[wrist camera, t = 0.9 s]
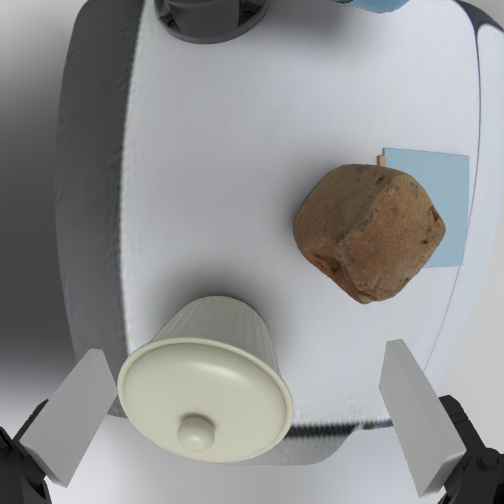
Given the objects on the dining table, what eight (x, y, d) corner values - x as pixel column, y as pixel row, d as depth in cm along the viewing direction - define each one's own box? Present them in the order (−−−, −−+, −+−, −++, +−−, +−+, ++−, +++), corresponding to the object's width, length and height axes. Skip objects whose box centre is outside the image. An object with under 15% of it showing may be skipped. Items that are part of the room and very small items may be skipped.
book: (377, 148, 36) (379, 147, 35) (466, 156, 35) (470, 156, 34) (374, 268, 40) (376, 271, 39) (460, 264, 40) (463, 266, 39)
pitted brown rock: (339, 158, 37) (408, 154, 18) (379, 200, 38) (468, 233, 19) (280, 220, 39) (294, 275, 20) (322, 259, 40) (366, 340, 21)
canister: (231, 398, 47) (214, 506, 27) (139, 332, 45) (75, 427, 24) (312, 328, 43) (339, 442, 23) (211, 245, 40) (161, 324, 20)
